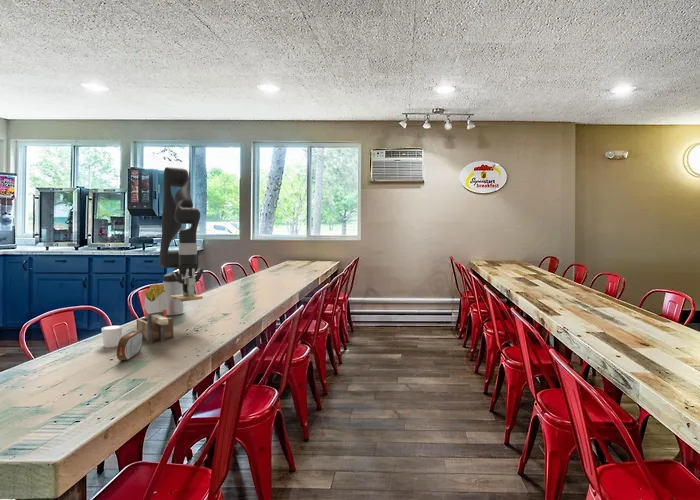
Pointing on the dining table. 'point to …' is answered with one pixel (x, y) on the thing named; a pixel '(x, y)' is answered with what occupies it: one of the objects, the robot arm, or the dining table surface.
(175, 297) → the lid
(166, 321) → the key
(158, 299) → the french fries container
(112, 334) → the white cup
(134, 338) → the tin
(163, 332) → the toolbox
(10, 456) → the dining table surface
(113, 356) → the dining table surface
